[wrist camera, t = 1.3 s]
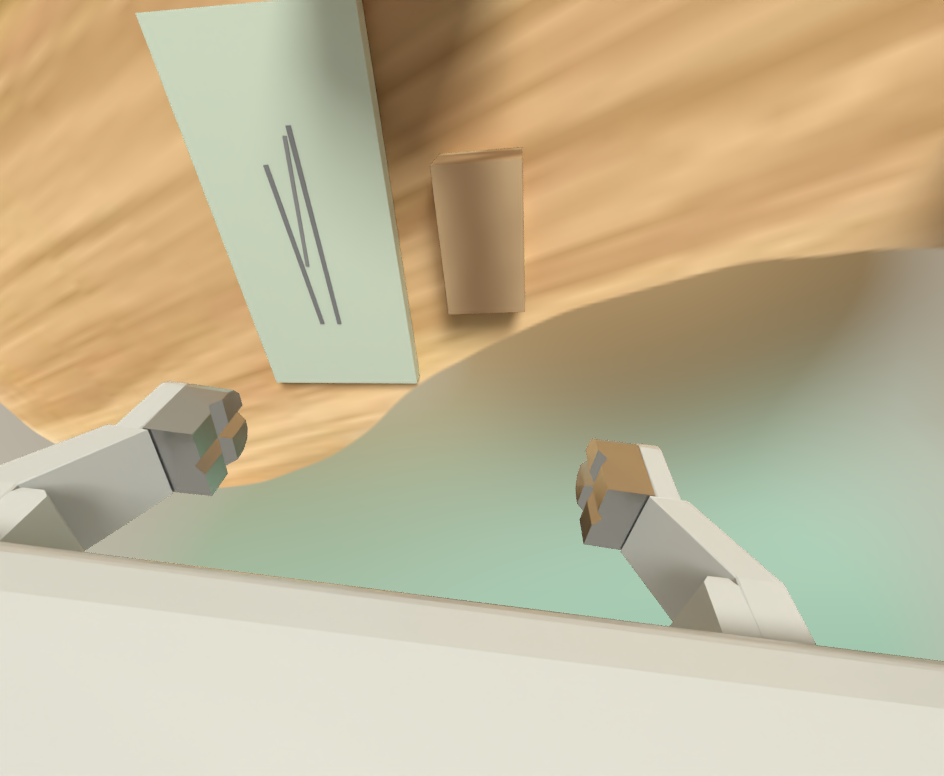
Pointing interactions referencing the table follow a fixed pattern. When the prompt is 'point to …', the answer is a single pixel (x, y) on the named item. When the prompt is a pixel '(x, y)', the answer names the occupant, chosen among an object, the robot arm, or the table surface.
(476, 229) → the block
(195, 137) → the board
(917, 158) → the table surface
